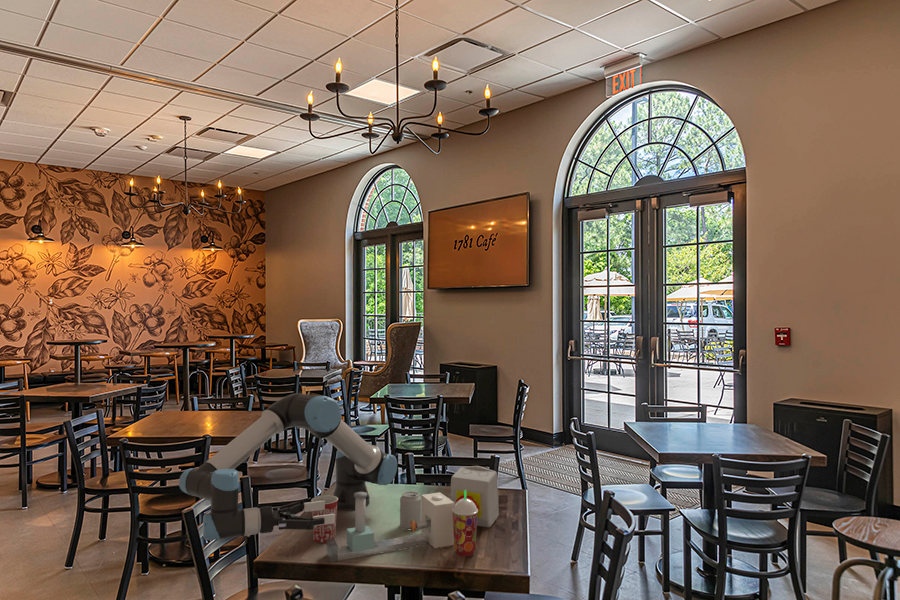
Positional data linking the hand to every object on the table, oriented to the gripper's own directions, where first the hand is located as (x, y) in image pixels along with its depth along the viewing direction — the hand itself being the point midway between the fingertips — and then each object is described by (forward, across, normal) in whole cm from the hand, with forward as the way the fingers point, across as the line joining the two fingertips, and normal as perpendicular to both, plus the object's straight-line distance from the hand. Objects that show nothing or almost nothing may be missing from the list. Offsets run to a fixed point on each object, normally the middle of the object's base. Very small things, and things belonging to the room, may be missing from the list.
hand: (329, 511), depth 187 cm
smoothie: (+41, +13, -15) cm, 46 cm away
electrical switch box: (+55, -9, -14) cm, 58 cm away
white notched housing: (+37, 0, -14) cm, 40 cm away
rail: (+16, 0, -15) cm, 22 cm away
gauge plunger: (+32, 0, -10) cm, 34 cm away
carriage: (+10, 0, -12) cm, 16 cm away
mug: (+3, -18, -15) cm, 23 cm away
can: (+33, -15, -14) cm, 39 cm away
